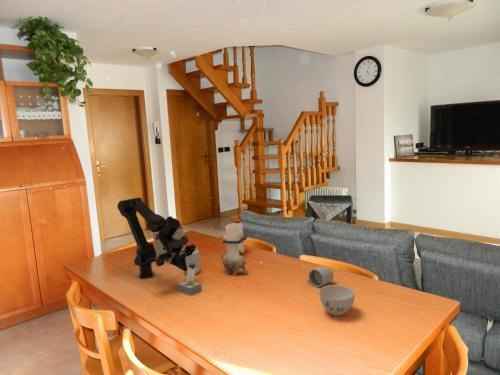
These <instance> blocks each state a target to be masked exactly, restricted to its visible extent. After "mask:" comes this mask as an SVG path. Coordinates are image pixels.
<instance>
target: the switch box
mask: <svg viewBox="0 0 500 375" xmlns="http://www.w3.org/2000/svg"><path fill="white" fill-rule="evenodd" d="M176 291H177V292H180V293H183V294H185V295H188V296H193V295H195V294H197V293H200V292H202V291H203V290H202V283H200V282H196V281H195V280H194V281H193V283H191V284H187V283H186V279H185V280H183V281H181V282H178V283H176Z"/></svg>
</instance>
